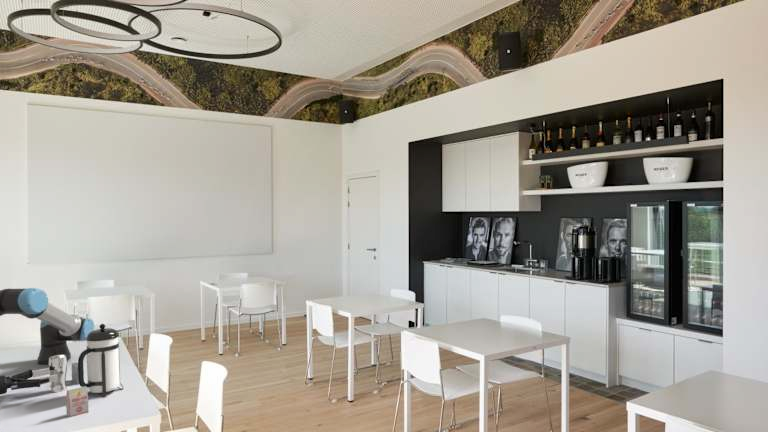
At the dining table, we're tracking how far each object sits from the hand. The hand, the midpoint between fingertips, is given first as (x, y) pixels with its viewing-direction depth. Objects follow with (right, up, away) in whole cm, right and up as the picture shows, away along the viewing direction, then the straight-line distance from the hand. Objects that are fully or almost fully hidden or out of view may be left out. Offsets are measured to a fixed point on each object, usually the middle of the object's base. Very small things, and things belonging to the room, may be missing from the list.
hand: (53, 374), depth 231 cm
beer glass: (+1, -8, +2) cm, 8 cm away
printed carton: (+26, -8, -26) cm, 37 cm away
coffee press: (+24, -8, -3) cm, 25 cm away
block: (+3, -8, +13) cm, 15 cm away
